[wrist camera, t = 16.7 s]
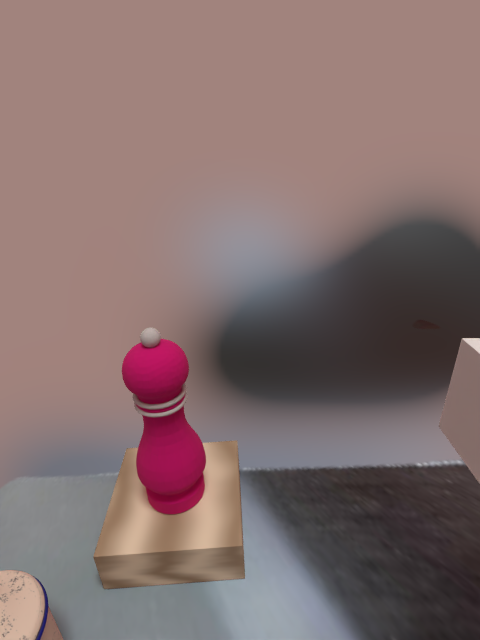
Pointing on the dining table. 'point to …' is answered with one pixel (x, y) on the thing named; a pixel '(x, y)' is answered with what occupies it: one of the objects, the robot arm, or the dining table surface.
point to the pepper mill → (164, 424)
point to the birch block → (174, 529)
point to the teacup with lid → (25, 609)
